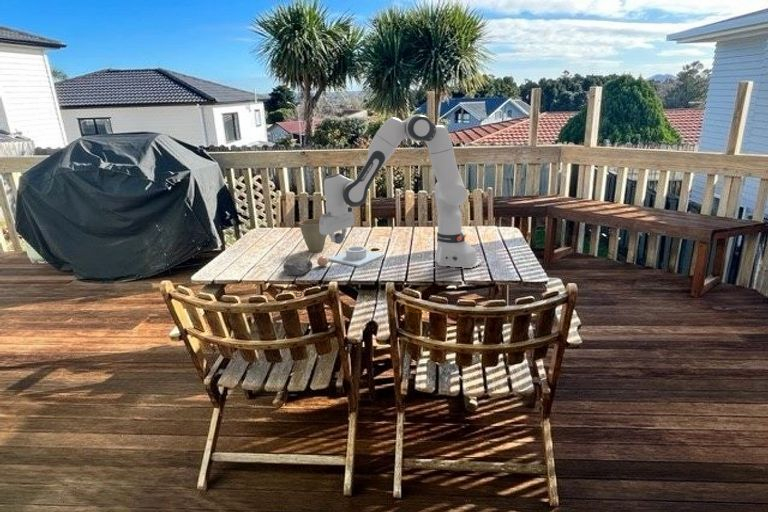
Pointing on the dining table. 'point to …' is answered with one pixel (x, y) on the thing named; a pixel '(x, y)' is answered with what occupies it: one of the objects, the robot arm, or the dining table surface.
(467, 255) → the robot arm
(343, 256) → the ring plate
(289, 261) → the rock
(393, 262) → the dining table surface
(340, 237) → the steel ball
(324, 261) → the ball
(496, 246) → the dining table surface
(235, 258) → the dining table surface
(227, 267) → the dining table surface
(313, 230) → the plant pot
